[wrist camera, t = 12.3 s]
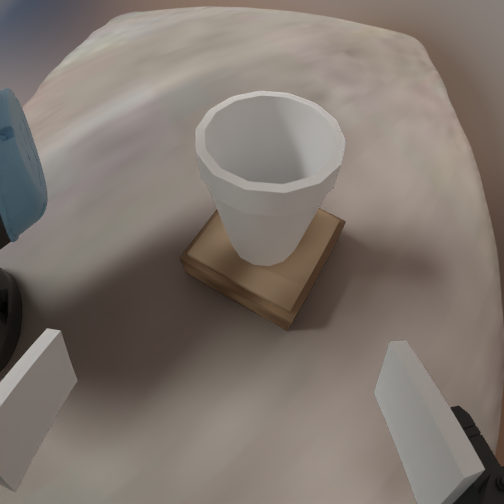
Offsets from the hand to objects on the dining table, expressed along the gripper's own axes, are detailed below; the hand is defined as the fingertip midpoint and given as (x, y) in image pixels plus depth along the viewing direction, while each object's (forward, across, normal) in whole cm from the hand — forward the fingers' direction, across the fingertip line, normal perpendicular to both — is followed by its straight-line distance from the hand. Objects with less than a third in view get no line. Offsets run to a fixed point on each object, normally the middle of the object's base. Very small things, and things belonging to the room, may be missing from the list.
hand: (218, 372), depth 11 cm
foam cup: (+20, +2, -1) cm, 20 cm away
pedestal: (+23, +3, -3) cm, 23 cm away
